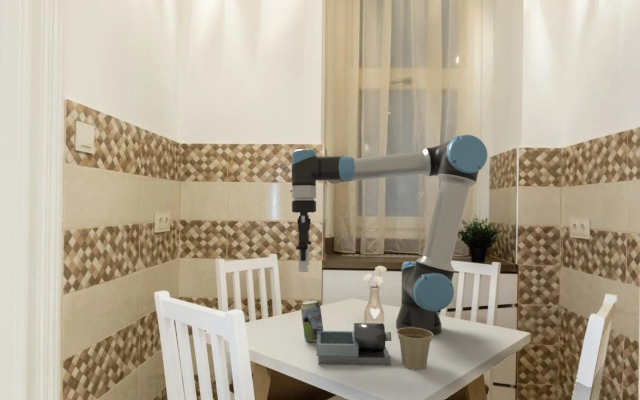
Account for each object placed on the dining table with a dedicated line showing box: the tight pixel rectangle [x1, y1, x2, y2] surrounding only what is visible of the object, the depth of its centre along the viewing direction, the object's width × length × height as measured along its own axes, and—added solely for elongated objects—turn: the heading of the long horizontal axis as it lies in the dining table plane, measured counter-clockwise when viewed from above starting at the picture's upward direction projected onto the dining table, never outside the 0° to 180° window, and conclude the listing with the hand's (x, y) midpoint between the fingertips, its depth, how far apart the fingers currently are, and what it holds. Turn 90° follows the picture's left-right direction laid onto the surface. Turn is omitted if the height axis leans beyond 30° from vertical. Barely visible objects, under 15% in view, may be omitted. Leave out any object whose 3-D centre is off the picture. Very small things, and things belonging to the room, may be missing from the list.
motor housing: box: [316, 322, 392, 366], centre depth 114 cm, size 20×13×9 cm, turn 90°
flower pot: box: [396, 327, 434, 371], centre depth 108 cm, size 9×9×9 cm
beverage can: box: [300, 300, 324, 342], centre depth 127 cm, size 6×7×12 cm
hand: (304, 268), depth 128 cm, fingers open, 13 cm apart
